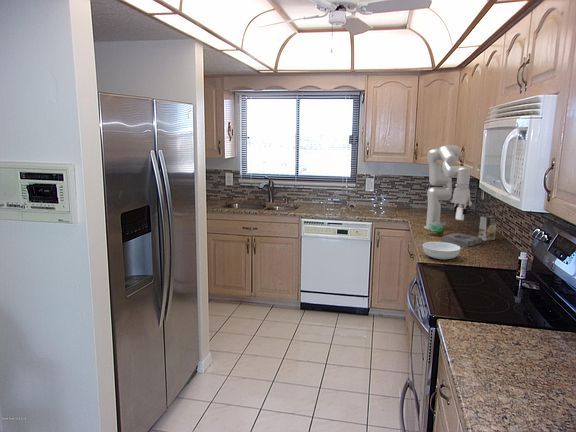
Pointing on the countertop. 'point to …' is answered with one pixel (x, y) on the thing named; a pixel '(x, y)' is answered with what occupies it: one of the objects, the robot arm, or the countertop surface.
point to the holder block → (461, 239)
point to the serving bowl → (441, 250)
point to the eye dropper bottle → (459, 212)
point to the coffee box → (487, 227)
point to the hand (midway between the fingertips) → (460, 213)
